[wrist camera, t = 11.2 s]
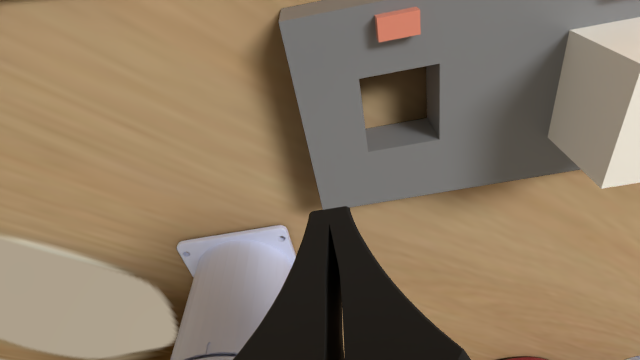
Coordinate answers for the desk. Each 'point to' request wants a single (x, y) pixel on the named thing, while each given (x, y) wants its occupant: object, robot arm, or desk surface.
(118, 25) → the desk surface
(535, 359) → the canister
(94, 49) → the desk surface
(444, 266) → the desk surface
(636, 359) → the aerosol can
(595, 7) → the socket
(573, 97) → the plug
